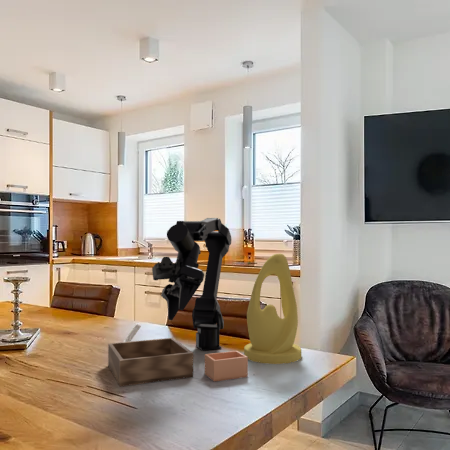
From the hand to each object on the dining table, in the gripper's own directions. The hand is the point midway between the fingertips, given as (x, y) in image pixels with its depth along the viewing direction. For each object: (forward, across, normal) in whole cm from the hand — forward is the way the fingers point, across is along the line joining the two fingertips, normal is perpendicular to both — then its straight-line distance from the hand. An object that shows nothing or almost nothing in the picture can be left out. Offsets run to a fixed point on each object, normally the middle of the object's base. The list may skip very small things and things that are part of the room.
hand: (175, 315), depth 115 cm
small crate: (+12, 0, +16) cm, 20 cm away
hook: (+7, -26, -5) cm, 28 cm away
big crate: (+13, -10, -1) cm, 17 cm away
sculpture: (0, -10, +34) cm, 35 cm away
